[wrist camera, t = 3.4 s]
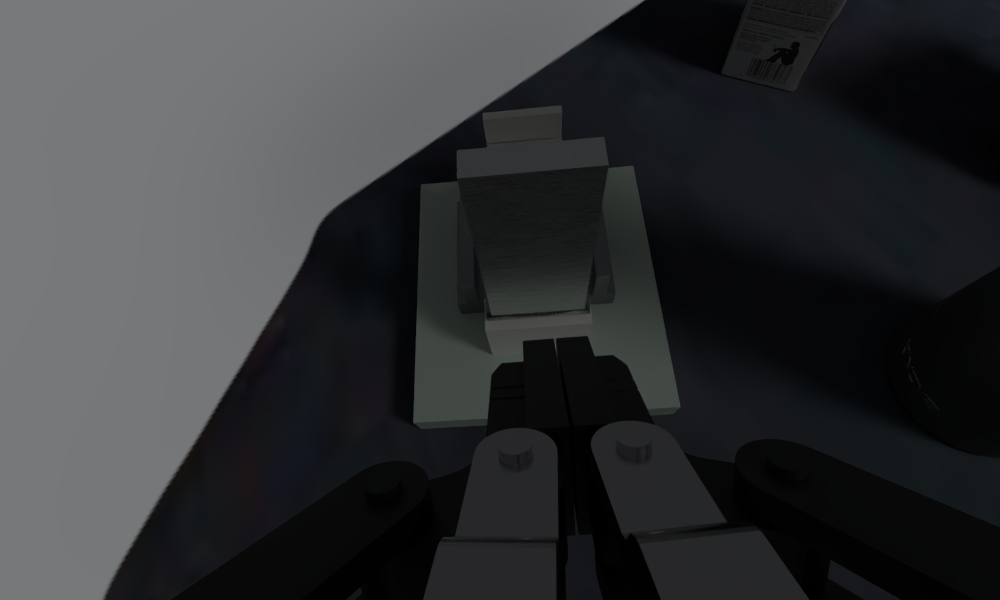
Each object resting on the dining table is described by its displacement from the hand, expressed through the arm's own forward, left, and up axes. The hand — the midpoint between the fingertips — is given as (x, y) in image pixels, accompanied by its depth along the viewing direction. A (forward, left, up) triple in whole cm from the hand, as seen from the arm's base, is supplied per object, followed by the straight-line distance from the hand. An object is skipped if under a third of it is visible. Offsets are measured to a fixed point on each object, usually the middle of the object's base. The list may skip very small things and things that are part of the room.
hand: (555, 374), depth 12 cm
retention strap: (0, -8, -14) cm, 16 cm away
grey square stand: (0, -12, -21) cm, 24 cm away
